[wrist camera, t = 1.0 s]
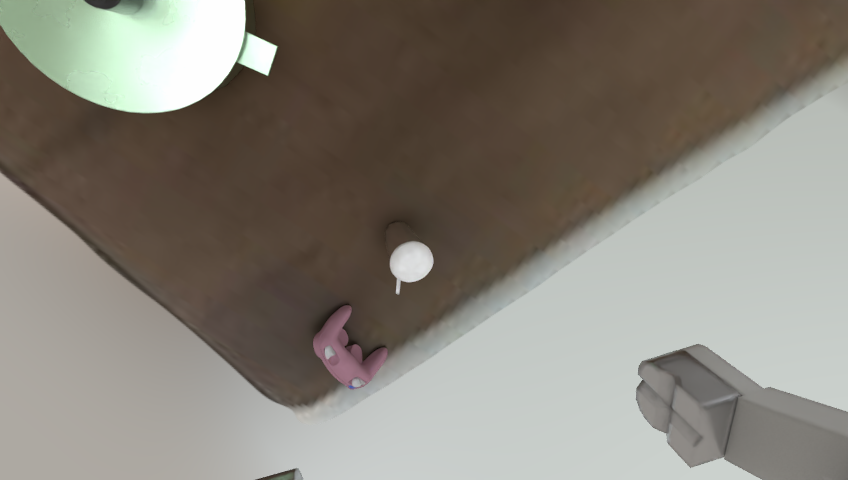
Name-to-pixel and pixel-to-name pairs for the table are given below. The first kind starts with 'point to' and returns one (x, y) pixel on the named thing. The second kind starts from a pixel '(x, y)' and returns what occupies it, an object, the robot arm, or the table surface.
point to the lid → (130, 47)
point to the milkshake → (407, 254)
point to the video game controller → (345, 352)
